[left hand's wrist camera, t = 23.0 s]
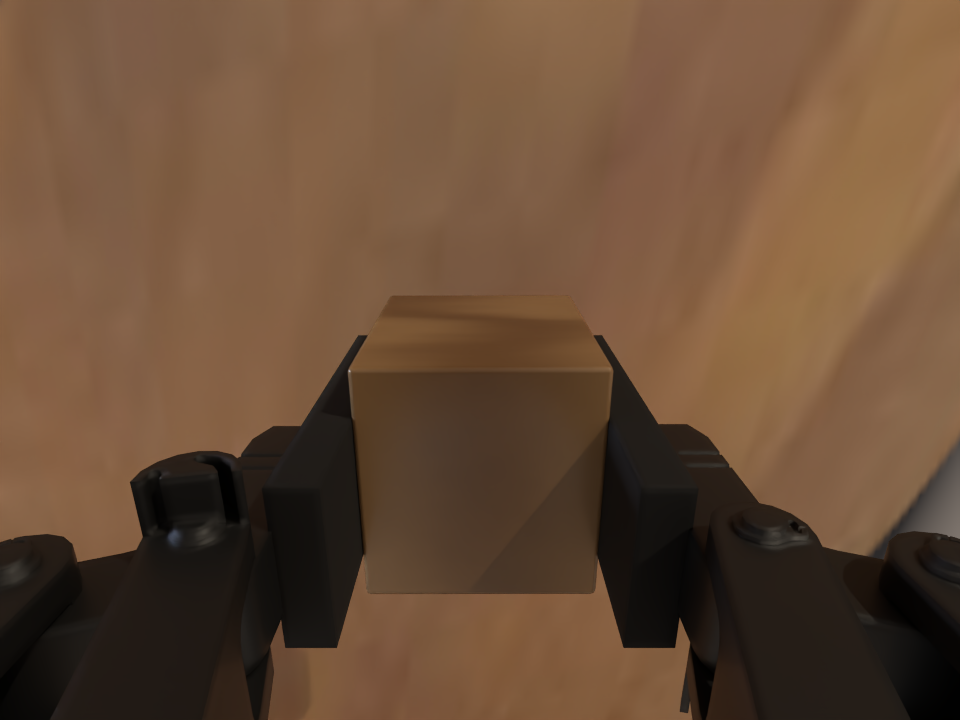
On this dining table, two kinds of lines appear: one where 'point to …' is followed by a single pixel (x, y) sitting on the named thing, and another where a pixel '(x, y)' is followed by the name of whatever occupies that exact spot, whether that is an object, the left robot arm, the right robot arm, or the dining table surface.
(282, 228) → the dining table surface
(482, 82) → the dining table surface
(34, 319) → the dining table surface
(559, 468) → the block
